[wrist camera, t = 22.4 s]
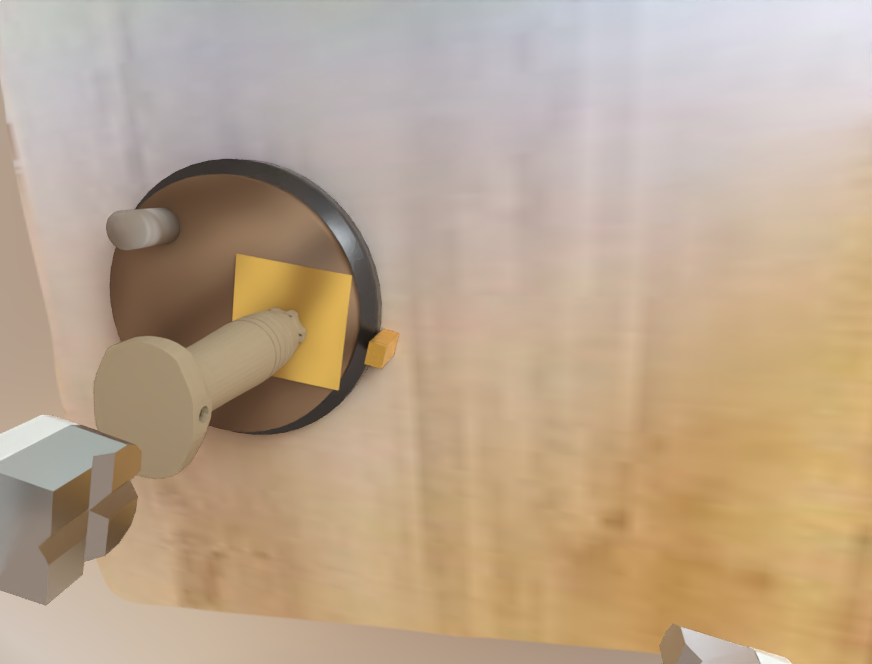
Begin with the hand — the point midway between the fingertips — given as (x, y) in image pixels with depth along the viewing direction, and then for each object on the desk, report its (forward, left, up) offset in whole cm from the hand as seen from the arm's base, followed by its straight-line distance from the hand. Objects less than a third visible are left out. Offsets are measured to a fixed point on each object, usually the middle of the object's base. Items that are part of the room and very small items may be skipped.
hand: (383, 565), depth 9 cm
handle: (+8, -13, -30) cm, 34 cm away
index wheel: (+8, -18, -31) cm, 37 cm away
